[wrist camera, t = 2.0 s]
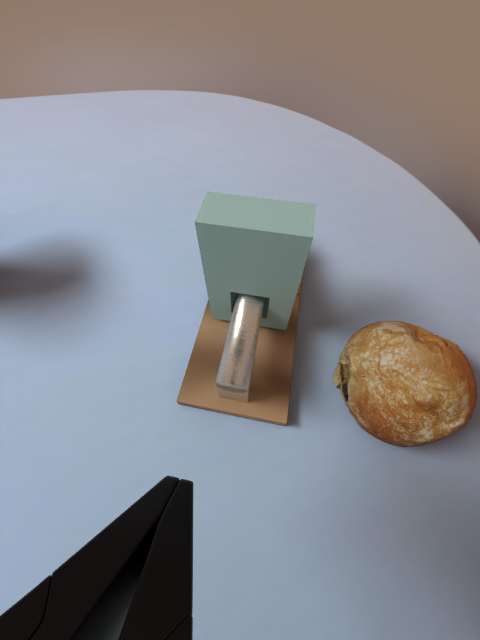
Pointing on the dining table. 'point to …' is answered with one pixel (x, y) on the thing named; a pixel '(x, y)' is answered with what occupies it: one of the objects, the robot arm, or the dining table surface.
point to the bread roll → (405, 383)
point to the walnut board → (267, 371)
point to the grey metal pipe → (240, 348)
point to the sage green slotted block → (254, 252)
